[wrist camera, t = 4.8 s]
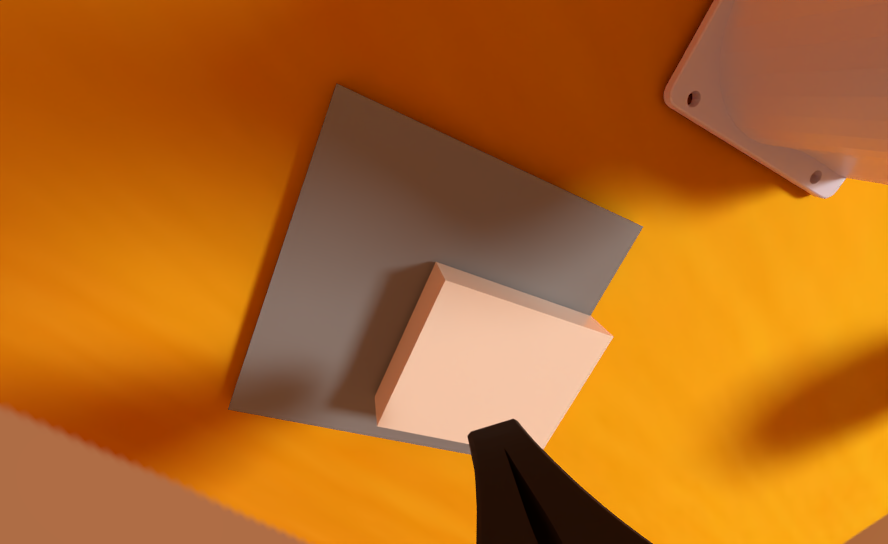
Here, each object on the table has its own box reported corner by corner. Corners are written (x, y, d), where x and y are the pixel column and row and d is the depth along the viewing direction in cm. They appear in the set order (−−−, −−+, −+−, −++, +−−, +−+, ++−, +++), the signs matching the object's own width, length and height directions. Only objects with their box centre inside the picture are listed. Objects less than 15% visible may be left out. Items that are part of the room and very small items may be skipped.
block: (434, 260, 15) (589, 314, 17) (374, 394, 16) (522, 426, 19) (445, 279, 13) (613, 336, 16) (376, 426, 15) (537, 457, 17)
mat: (635, 223, 16) (643, 226, 16) (500, 452, 20) (503, 460, 19) (337, 83, 12) (336, 83, 12) (231, 400, 16) (227, 409, 15)
